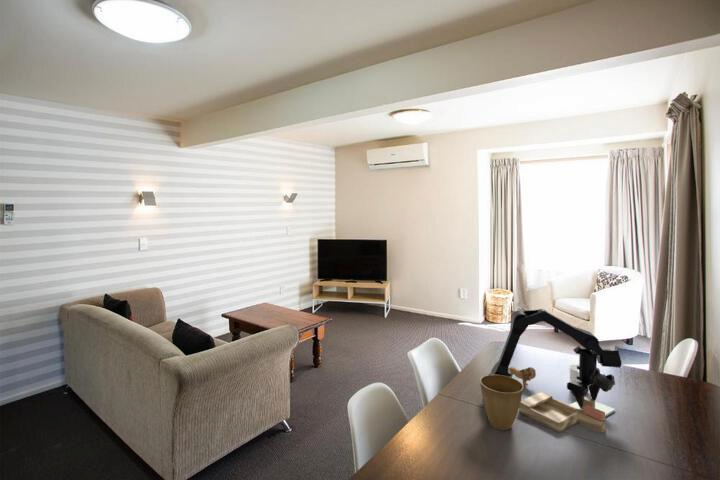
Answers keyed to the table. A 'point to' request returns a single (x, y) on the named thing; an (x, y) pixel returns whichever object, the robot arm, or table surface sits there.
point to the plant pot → (501, 399)
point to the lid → (594, 406)
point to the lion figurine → (523, 374)
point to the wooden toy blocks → (557, 413)
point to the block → (594, 412)
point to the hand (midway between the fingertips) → (587, 403)
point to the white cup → (574, 373)
